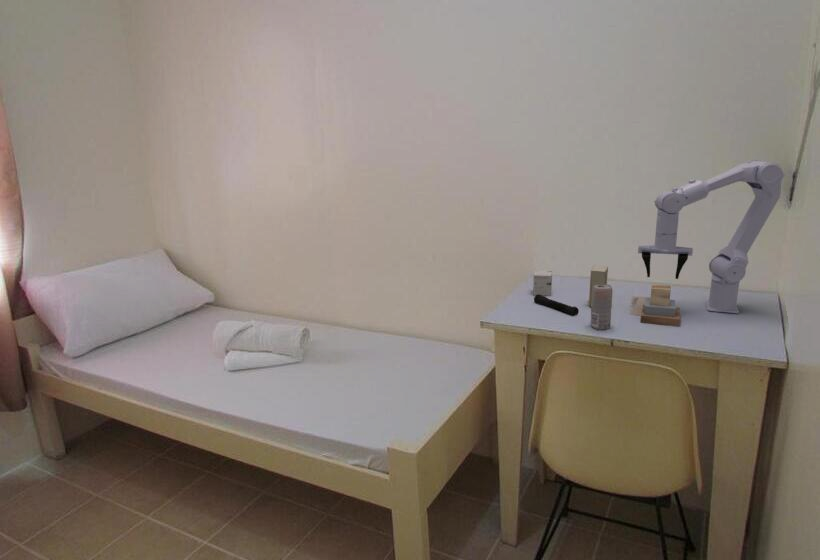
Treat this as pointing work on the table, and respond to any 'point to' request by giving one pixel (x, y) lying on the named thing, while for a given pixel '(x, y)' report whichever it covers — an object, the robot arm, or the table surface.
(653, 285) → the beech cube
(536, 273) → the skincare box
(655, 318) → the tower base slab
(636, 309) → the grooming comb
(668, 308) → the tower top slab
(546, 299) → the flashlight
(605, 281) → the skincare box
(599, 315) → the energy drink
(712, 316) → the table surface
